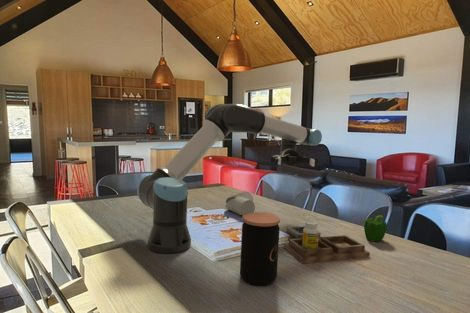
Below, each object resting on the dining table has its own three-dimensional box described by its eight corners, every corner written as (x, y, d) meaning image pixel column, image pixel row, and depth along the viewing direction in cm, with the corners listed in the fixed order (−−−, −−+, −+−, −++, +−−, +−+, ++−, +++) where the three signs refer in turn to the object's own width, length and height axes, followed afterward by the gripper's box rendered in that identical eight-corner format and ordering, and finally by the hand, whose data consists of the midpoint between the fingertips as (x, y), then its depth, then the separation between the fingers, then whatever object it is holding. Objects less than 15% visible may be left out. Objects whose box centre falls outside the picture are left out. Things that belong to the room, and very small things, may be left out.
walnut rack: (303, 263, 105) (303, 253, 105) (283, 247, 118) (284, 237, 118) (369, 256, 113) (370, 247, 113) (344, 242, 126) (345, 233, 126)
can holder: (297, 239, 127) (298, 234, 127) (286, 231, 136) (286, 226, 136) (320, 238, 130) (320, 233, 130) (307, 229, 139) (307, 225, 139)
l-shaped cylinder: (215, 206, 168) (236, 216, 151) (220, 186, 168) (241, 194, 151) (242, 209, 177) (265, 219, 161) (247, 191, 178) (270, 199, 161)
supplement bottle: (313, 245, 117) (315, 219, 116) (320, 251, 112) (322, 224, 111) (299, 246, 115) (301, 220, 114) (306, 252, 110) (307, 225, 109)
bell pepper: (363, 241, 128) (365, 216, 127) (362, 234, 136) (364, 211, 135) (386, 244, 125) (388, 219, 124) (384, 238, 133) (386, 214, 132)
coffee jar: (275, 289, 88) (278, 225, 86) (236, 284, 90) (239, 220, 88) (277, 272, 98) (281, 214, 96) (243, 267, 100) (245, 210, 98)
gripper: (316, 166, 153) (327, 173, 132) (263, 163, 154) (265, 169, 133) (317, 150, 152) (328, 154, 131) (264, 147, 153) (266, 151, 132)
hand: (296, 162), depth 132 cm, fingers open, 13 cm apart
